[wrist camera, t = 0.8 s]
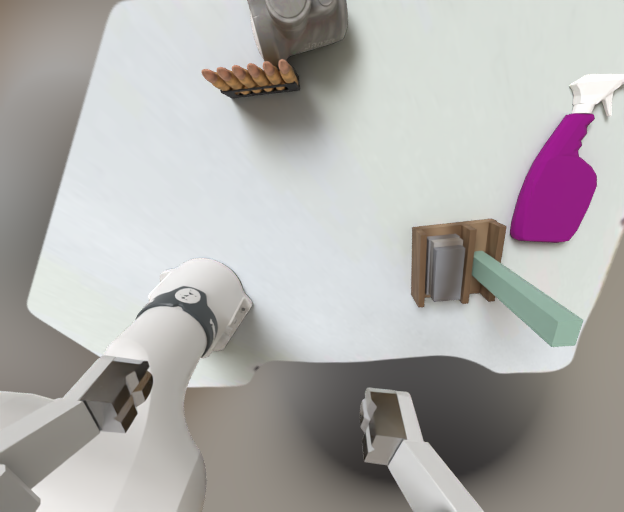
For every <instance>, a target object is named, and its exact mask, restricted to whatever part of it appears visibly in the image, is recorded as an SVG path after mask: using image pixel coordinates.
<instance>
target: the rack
mask: <svg viewBox="0 0 624 512" xmlns="http://www.w3.org/2000/svg"><path fill="white" fill-rule="evenodd" d="M505 233H506V226H505V225H503V224H500V223H498V222H497V221H496V220H494V219H484V220H475V221H465V222H456V223H447V224H438V225H429V226H419V227H412V276H411V295H412V297H413V299H414V300H415V302H416V304H417V306H418V307H424V298H426V297H431V296H430V295H426V294H425V274H426V250H427V237H429V236H438V235H448V234H457V235H458V236H460V238H461V239H462V240H463V247H464V248H465V257H464V267H463V277H462V286H461V296H460V301H461V303H462V304H466V303H468V301H469V294H472V293H480V294H481V295H482V296H483V297H484V298H485V299H486V300H487V301H489V302H490V301H495V296H494V295H493V294H492V293H491V292H490V291H489V290H488V289H487V288H486V287H484V286H483V285H482V284H481V283H480V282H479V281H478V280H477V279H476V278H474V277H473V276H472V267H473V258H474V251H484V252H485V253H486V254H488V255H489V256H491V257H492V258H494V259H495V260H497V261H498V262H500V263H501V257H502V251H503V245H504V239H505Z"/></svg>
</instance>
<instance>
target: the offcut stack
mask: <svg viewBox="0 0 624 512" xmlns="http://www.w3.org/2000/svg"><path fill="white" fill-rule="evenodd" d="M464 257H465V248H464V247H463V240H462V239H461V238H460V236H458V235H457V234H448V235H438V236H429V237H427V250H426V274H425V294H426V295H430V296H431V298H432V300H433V301H434V302H436V301H448V300H460V296H461V286H462V277H463V267H464Z"/></svg>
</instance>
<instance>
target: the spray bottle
mask: <svg viewBox="0 0 624 512" xmlns="http://www.w3.org/2000/svg"><path fill="white" fill-rule="evenodd" d="M621 85H624V74H589V75H585V76H583V77H582V78H580V79H578V80H577V81H575V82H573V83H572V84H570V85H569V86H570V88H571V89H572V91H573V95H574V98H573V104H572V105H574V107H573V109H572V112H571V114H569V115H566V116H565V117H564V118H563V120H562V121H561V123H560V124H559V125H558V127H557V128H556V130H555V131H554V132H553V134H552V135H551V137H550V138H549V139H548V141H547V142H546V143H545V145H544V146H543V148H542V150H541V151H540V153H539V154H538V156H537V157H536V159H535V160H534V162H533V164H532V166H531V168H530V170H529V172H528V174H527V176H526V178H525V181H524V183H523V186H522V188H521V191H520V193H519V196H518V200H517V203H516V207H515V211H514V214H513V218H512V223H511V229H510V234H511V236H512V238H514V239H517V240H520V241H534V242H553V243H558V242H565V241H569V240H570V239H571V237H572V236H573V235H574V234H575V232H576V231H577V229H578V227H579V225H580V223H581V221H582V219H583V217H584V215H585V213H586V211H587V209H588V207H589V205H590V202H591V199H592V197H593V194H594V192H595V189H596V186H597V176H596V173H595V172H594V170H593V169H592V167H591V166H590V165H589V164H588V163H586V162H585V161H584V160H583V159H581V158H580V157H579V154H578V150H579V148H580V147H581V146H582V144H581V140H582V139H583V138H584V136H585V135H586V134H587V126H588V125H589V124H590V123H591V122H592V121H593V120H594V119H595V118H594V115H593V114H592V111H593V108H594V105H595V104H598V103H599V102H600V101H602V102H603V106H604V109H605V112H606V115H607V117H610V116H611V115H612V112H611V107H612V95H613V92H614V90H616V89H617V88H619V87H620V86H621Z"/></svg>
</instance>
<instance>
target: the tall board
mask: <svg viewBox="0 0 624 512" xmlns="http://www.w3.org/2000/svg"><path fill="white" fill-rule="evenodd" d="M472 276H473V277H474V278H476V279H477V280H478V281H479V282H480V283H481V284H482V285H483V286H484V287H486V288H487V289H488V290H489V291H490V292H491V293H492V294H493V295H494V296H496V297H497V298H498V299H499V300H500V301H501V302H502V303H503V304H504V305H506V306H507V307H508V308H509V309H510V310H511V311H512V312H513V313H514V314H515V315H517V316H518V317H519V318H520V319H521V320H522V321H523V322H524V323H525V324H527V325H528V326H529V327H530V328H531V329H532V330H533V331H534V332H535V333H537V334H538V335H539V336H540V337H541V338H542V339H543V340H544V341H545V342H547V343H548V344H549V345H550V346H551V347H559V346H574V345H575V344H576V341H577V338H578V335H579V332H580V329H581V326H582V323H583V319H581V318H580V317H578V316H577V315H575V314H574V313H572V312H571V311H569V310H568V309H567V308H565V307H564V306H562V305H561V304H559V303H558V302H556V301H555V300H553V299H552V298H551V297H549V296H548V295H546V294H545V293H543V292H542V291H540V290H539V289H537V288H536V287H534V286H533V285H532V284H530V283H529V282H527V281H526V280H524V279H523V278H521V277H520V276H518V275H517V274H516V273H514V272H513V271H511V270H510V269H508V268H507V267H505V266H504V265H502V264H501V263H500V262H498V261H497V260H495V259H494V258H492V257H491V256H489V255H488V254H486V253H485V252H484V251H474V258H473V267H472Z"/></svg>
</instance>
